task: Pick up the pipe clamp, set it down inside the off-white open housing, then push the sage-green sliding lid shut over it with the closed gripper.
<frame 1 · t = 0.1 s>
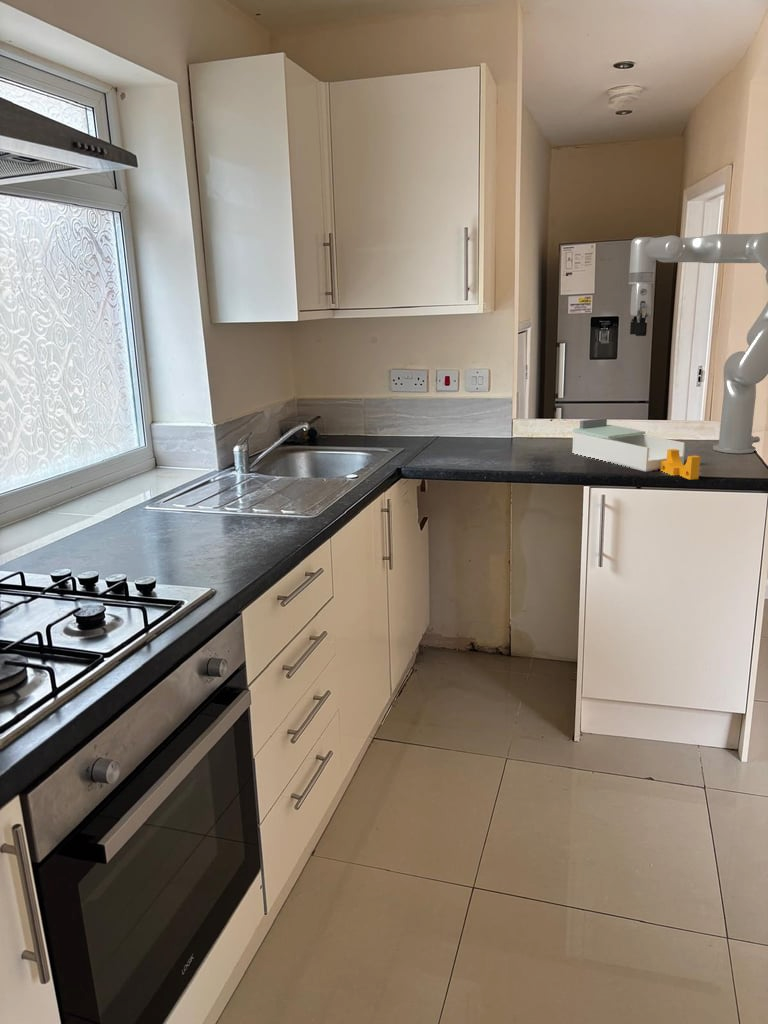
hand: (637, 335, 249), 37 cm above the table, tool pointing down, fingers open, 9 cm apart
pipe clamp: (678, 476, 223), on the table
housing: (644, 463, 238), on the table
lid: (608, 427, 249), point 9 cm above the table, slide at 16.2 cm
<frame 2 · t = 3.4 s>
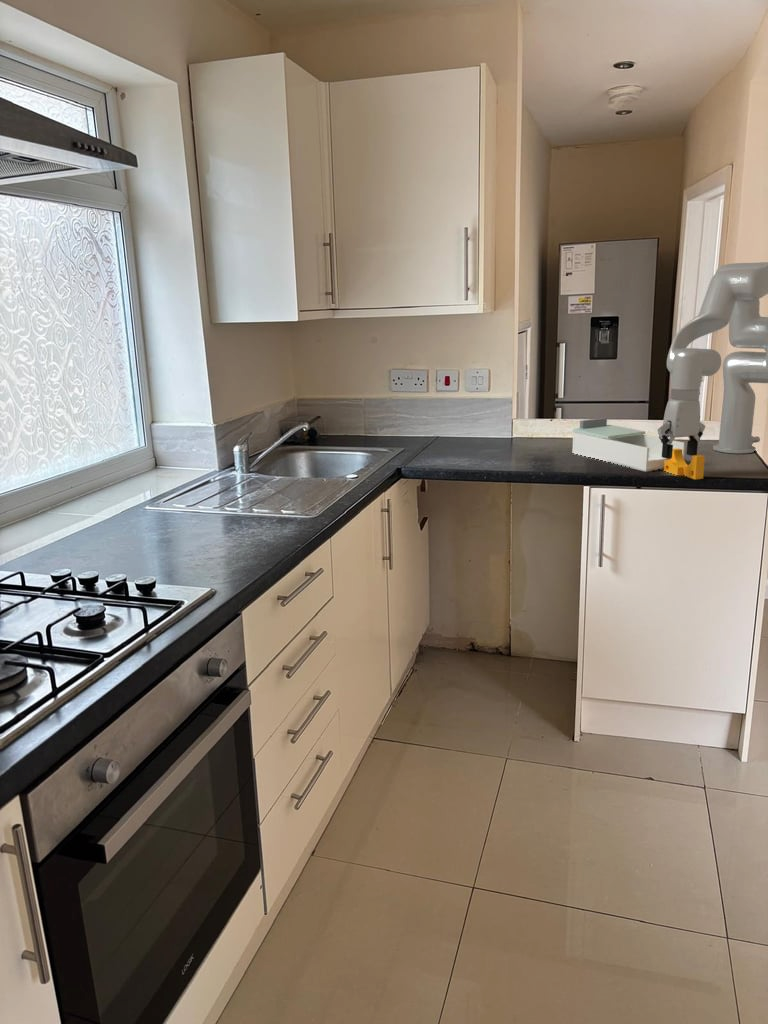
hand: (679, 456, 221), 5 cm above the table, tool pointing down, fingers open, 9 cm apart
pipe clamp: (682, 475, 223), on the table
everything else where it was.
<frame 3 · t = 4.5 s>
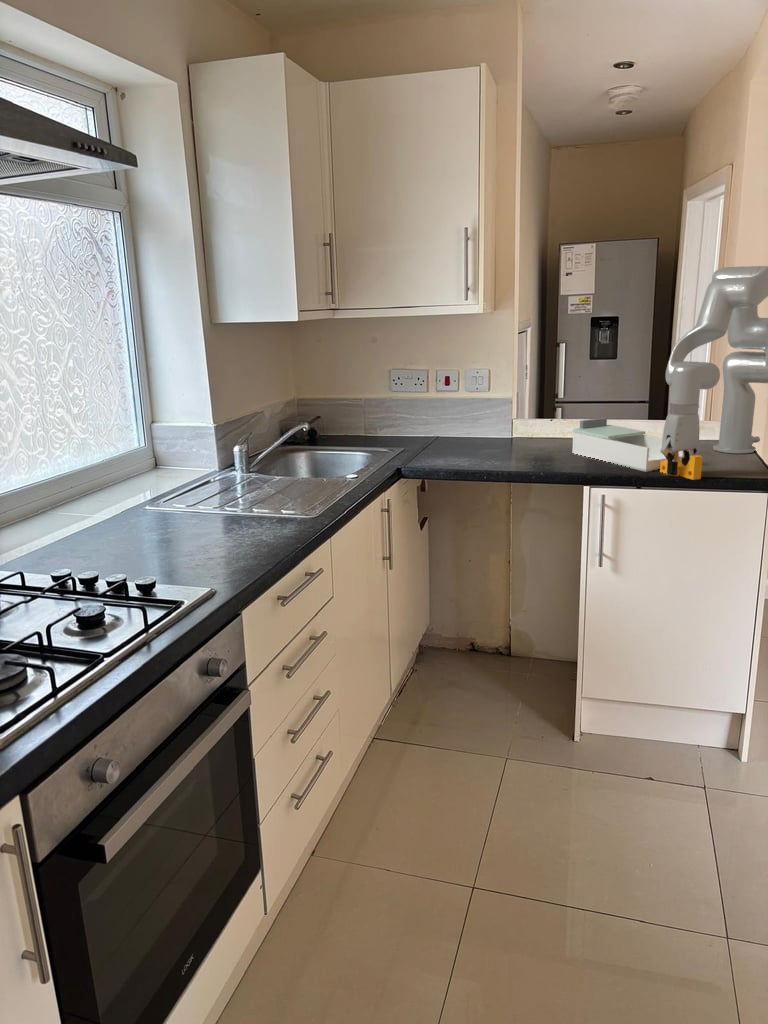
hand: (678, 472, 223), 1 cm above the table, tool pointing down, fingers closed on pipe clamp, 4 cm apart
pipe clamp: (679, 476, 222), on the table, touching gripper
everything else where it was.
when the fingers open (3 cm above the table, at t = 10.5 s): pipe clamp drops 2 cm, resting on housing.
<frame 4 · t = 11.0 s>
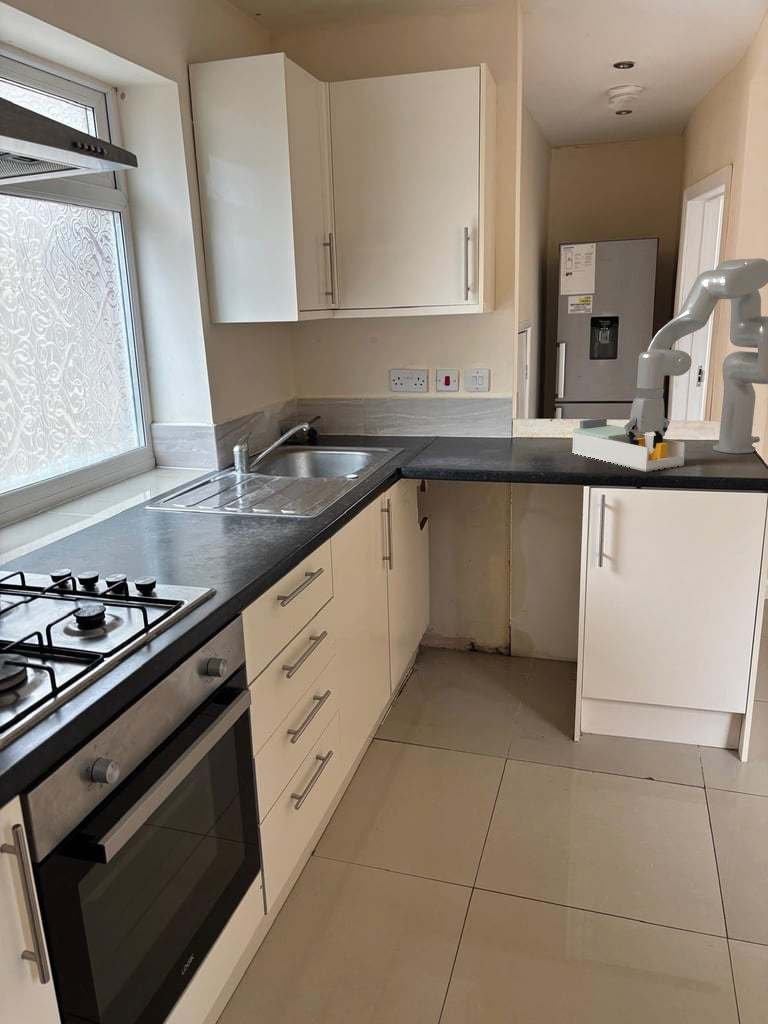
hand: (645, 450, 237), 4 cm above the table, tool pointing down, fingers open, 9 cm apart
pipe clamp: (646, 462, 237), resting on housing
everything else where it was.
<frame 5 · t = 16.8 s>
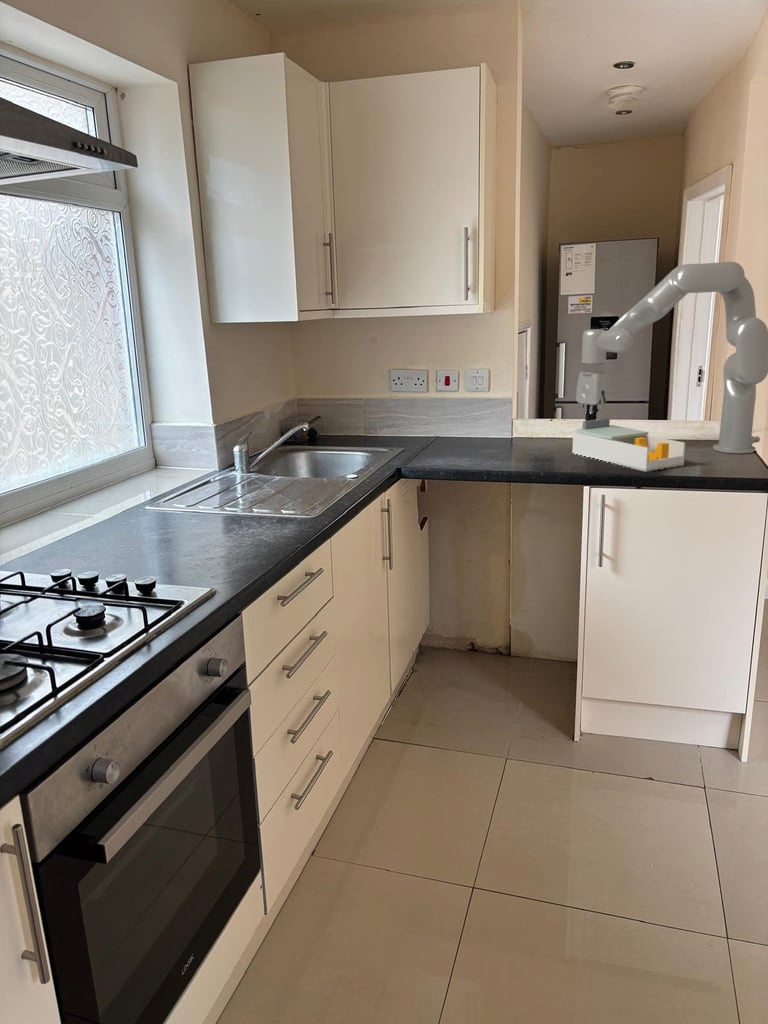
hand: (590, 425, 257), 9 cm above the table, tool pointing down, fingers closed
lid: (611, 428, 248), point 9 cm above the table, slide at 14.9 cm, touching gripper
everything else where it was.
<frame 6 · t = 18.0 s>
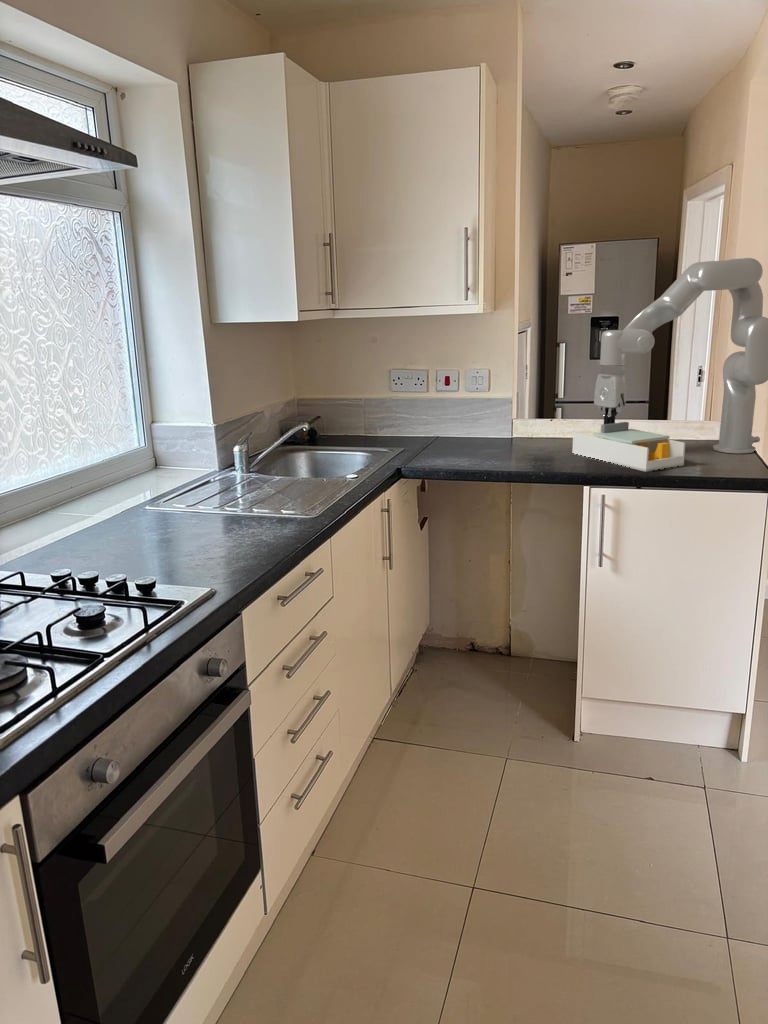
hand: (609, 428, 250), 9 cm above the table, tool pointing down, fingers closed
lid: (631, 431, 241), point 9 cm above the table, slide at 6.3 cm, touching gripper
everything else where it was.
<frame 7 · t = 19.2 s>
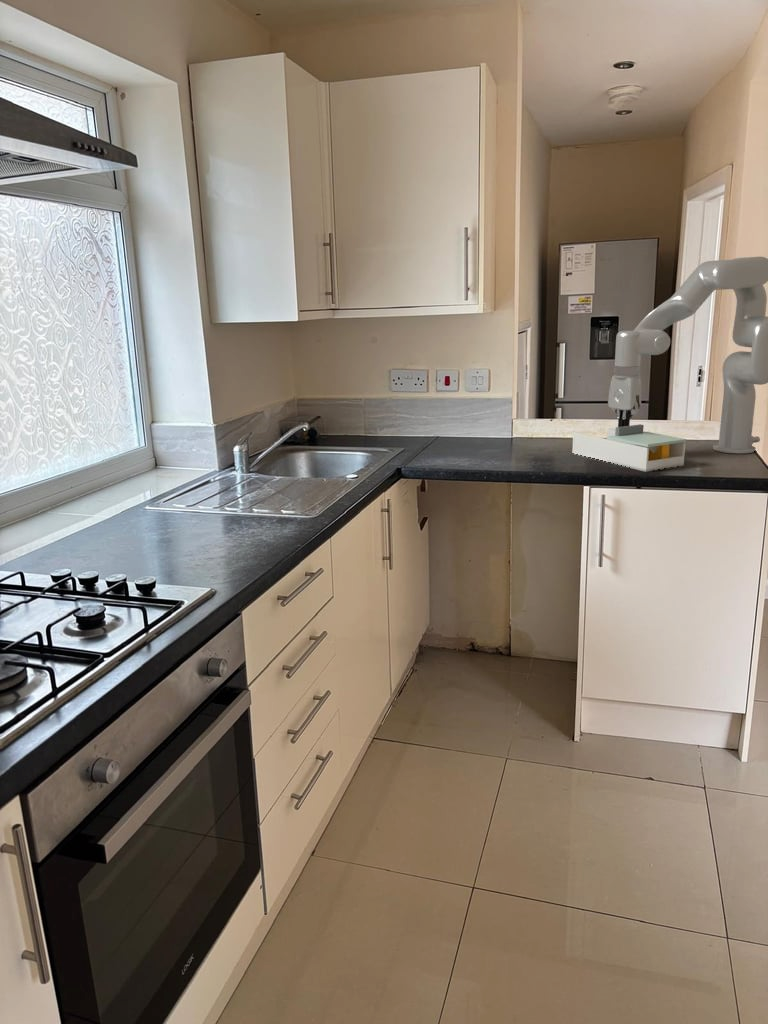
hand: (623, 431, 244), 9 cm above the table, tool pointing down, fingers closed
lid: (646, 434, 235), point 9 cm above the table, slide at -0.1 cm, touching gripper
everything else where it was.
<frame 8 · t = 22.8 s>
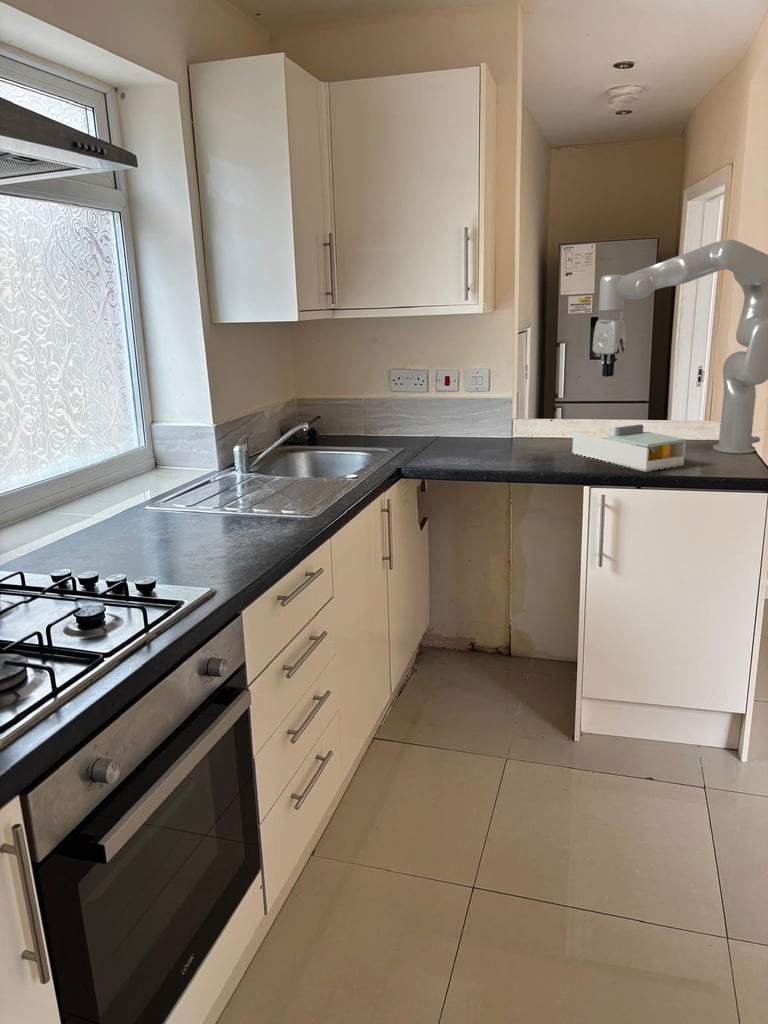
hand: (607, 376, 247), 25 cm above the table, tool pointing down, fingers closed
lid: (646, 434, 236), point 9 cm above the table, slide at 0.0 cm
at the end: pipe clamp inside the target area on the housing (1.5 cm from its centre), point 0.4 cm above the housing's base; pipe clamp tilted 0°; lid slide at 0.0 cm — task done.
